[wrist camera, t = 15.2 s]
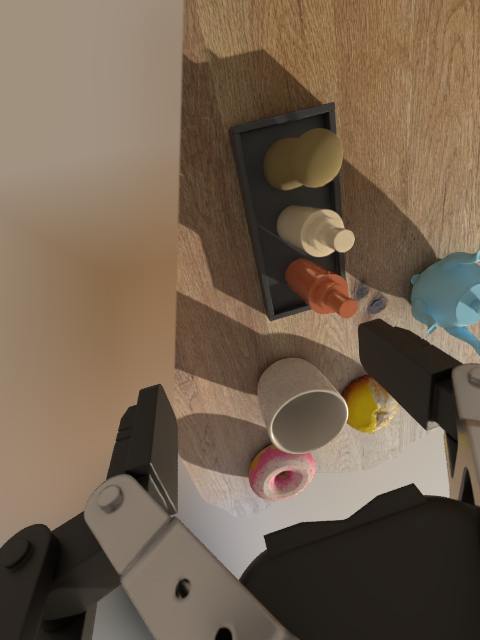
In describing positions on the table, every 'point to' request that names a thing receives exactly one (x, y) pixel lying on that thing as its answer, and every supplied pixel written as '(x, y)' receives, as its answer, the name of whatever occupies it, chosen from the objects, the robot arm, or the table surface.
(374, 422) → the fruit
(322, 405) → the planter
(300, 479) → the donut
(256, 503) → the table surface
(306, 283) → the terracotta bottle
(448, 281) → the teapot
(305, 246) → the cream bottle
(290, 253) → the tray
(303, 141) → the pepper shaker
